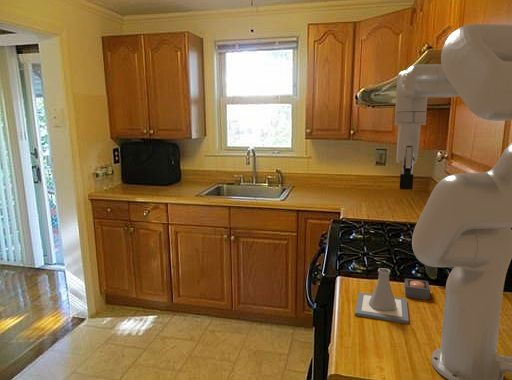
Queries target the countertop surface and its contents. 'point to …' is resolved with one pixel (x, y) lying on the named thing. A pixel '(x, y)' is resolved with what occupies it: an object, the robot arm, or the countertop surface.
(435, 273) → the vegetable
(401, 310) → the board
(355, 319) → the countertop surface
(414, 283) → the button
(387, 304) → the flask
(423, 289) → the button housing
